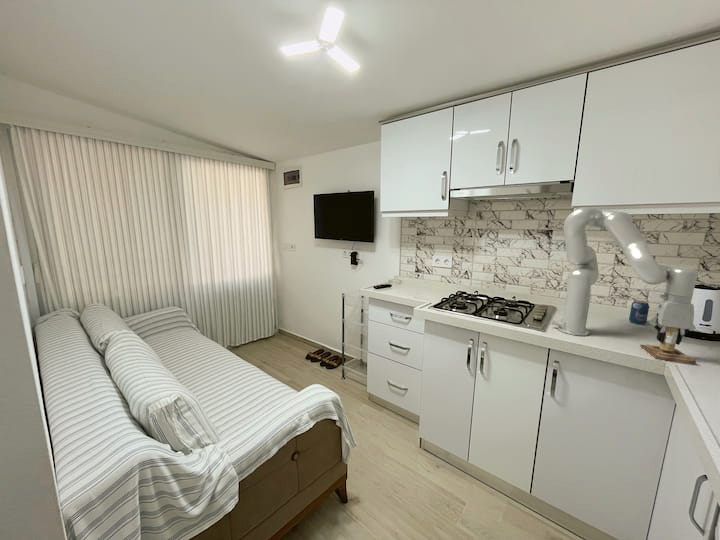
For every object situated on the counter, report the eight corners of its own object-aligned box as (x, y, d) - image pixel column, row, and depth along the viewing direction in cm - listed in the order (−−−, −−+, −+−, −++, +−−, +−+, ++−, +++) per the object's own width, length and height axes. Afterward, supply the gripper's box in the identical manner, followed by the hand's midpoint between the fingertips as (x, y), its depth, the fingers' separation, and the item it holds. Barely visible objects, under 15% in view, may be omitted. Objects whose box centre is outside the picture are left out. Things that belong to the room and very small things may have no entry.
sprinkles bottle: (655, 347, 125) (662, 316, 123) (665, 347, 125) (672, 316, 123) (667, 352, 120) (674, 320, 118) (677, 351, 121) (684, 319, 118)
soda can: (636, 325, 159) (640, 303, 157) (625, 320, 166) (628, 299, 164) (649, 325, 159) (653, 303, 157) (637, 321, 166) (641, 300, 164)
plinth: (655, 359, 120) (656, 354, 119) (640, 347, 131) (640, 342, 130) (695, 365, 116) (696, 359, 115) (675, 352, 127) (676, 347, 126)
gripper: (655, 298, 119) (646, 342, 122) (712, 303, 113) (701, 349, 116) (645, 294, 125) (637, 335, 129) (699, 299, 120) (689, 342, 123)
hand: (668, 341), depth 122 cm, fingers closed on sprinkles bottle, 4 cm apart
